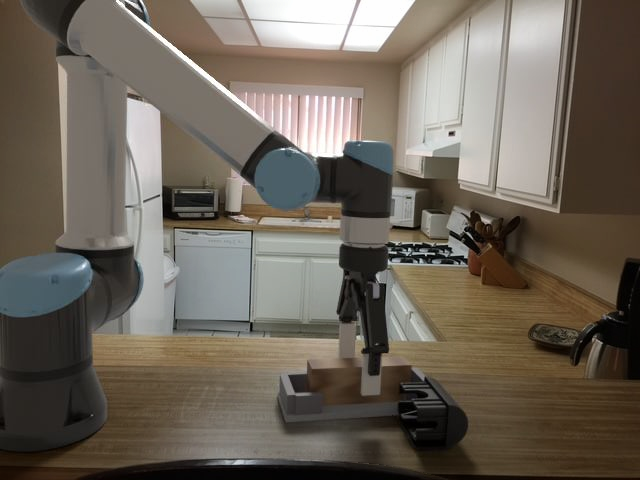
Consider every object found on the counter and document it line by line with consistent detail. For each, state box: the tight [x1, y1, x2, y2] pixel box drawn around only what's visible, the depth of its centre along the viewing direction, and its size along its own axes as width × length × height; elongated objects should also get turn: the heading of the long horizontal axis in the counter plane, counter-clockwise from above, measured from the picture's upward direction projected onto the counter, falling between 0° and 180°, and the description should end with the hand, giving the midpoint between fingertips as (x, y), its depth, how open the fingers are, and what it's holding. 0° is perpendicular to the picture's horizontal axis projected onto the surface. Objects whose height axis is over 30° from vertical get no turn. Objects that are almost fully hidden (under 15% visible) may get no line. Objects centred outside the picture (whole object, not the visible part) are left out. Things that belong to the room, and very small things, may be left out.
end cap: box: [397, 375, 469, 452], centre depth 76 cm, size 10×7×7 cm
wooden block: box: [306, 355, 413, 406], centre depth 85 cm, size 16×4×6 cm, turn 101°
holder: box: [277, 367, 426, 423], centre depth 85 cm, size 24×9×4 cm, turn 102°
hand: (357, 376), depth 85 cm, fingers open, 13 cm apart
